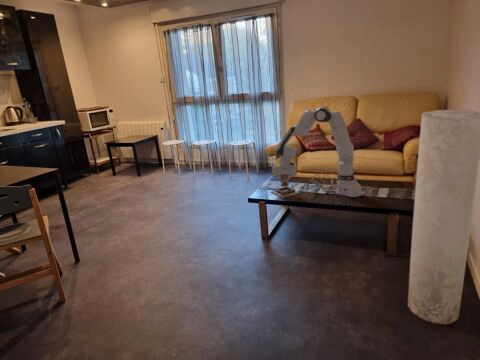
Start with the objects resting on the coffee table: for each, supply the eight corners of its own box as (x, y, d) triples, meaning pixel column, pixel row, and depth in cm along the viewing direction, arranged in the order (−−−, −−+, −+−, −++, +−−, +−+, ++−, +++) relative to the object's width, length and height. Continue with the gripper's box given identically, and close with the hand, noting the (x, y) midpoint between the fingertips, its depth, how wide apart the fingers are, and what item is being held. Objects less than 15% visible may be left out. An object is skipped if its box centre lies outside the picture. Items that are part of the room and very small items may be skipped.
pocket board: (299, 193, 270) (299, 189, 269) (282, 198, 263) (282, 194, 262) (288, 188, 284) (287, 184, 284) (270, 192, 278) (270, 188, 277)
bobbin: (289, 185, 271) (289, 176, 268) (283, 186, 268) (283, 177, 266) (285, 183, 276) (285, 174, 273) (279, 185, 273) (279, 175, 271)
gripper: (271, 164, 276) (271, 178, 269) (296, 163, 272) (296, 178, 265) (272, 167, 281) (271, 182, 275) (297, 167, 277) (297, 182, 271)
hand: (284, 180), depth 270 cm, fingers closed on bobbin, 5 cm apart
